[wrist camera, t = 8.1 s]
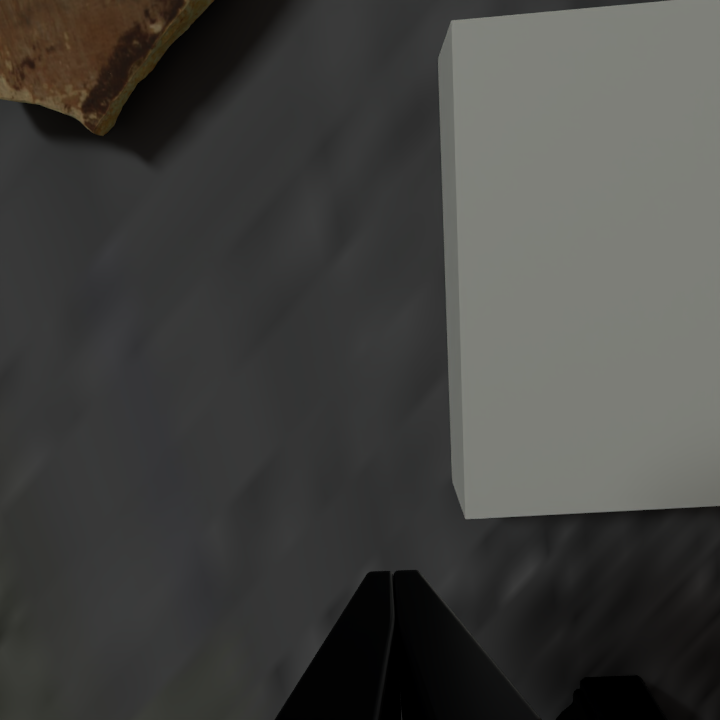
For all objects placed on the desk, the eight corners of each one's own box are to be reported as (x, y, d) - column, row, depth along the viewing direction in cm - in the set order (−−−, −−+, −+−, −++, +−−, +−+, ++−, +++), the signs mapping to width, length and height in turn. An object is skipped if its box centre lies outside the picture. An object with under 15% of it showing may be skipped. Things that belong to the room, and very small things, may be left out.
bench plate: (695, 467, 20) (750, 504, 17) (452, 480, 21) (465, 519, 18) (732, 33, 17) (808, -12, 14) (437, 59, 17) (451, 20, 14)
